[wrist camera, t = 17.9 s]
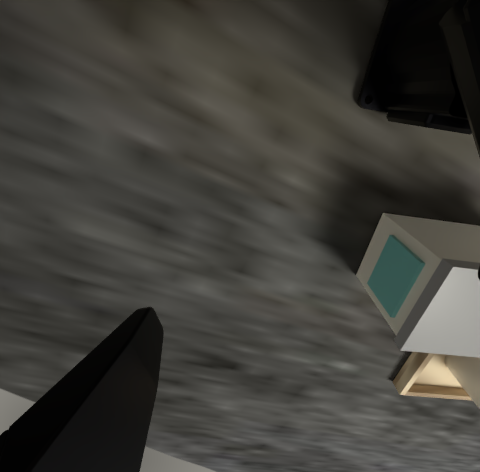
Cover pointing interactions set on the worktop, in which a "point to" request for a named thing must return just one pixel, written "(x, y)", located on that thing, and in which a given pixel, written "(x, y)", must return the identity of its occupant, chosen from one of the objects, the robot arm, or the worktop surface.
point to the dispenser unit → (426, 283)
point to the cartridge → (466, 374)
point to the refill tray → (428, 378)
